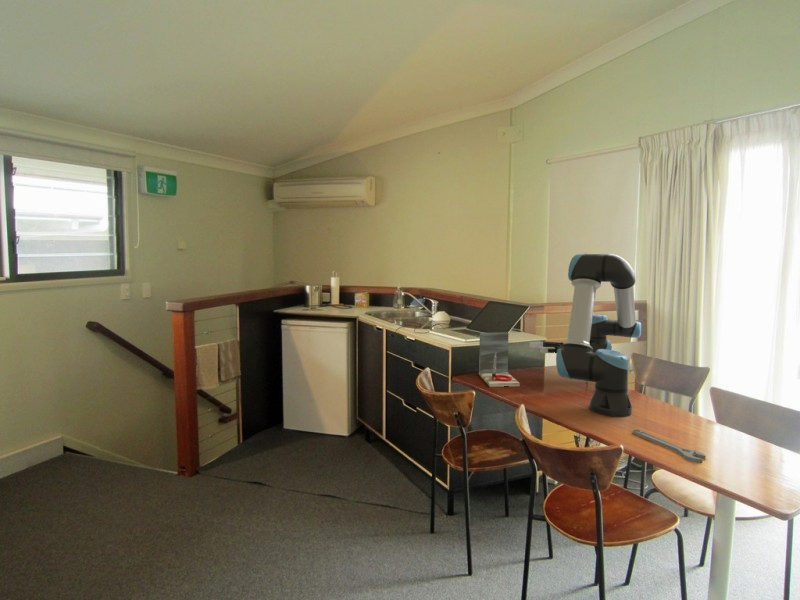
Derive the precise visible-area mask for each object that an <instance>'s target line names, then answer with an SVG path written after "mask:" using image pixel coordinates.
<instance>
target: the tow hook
mask: <svg viewBox="0 0 800 600" xmlns="http://www.w3.org/2000/svg"><path fill="white" fill-rule="evenodd" d="M498 377H505V378H508V379H502V378H498ZM512 377H513V376H512ZM512 377H510V376H507V375H496V352H495V355H494V363H493V373H492V379H493V380H500V381H511V380H512Z"/></svg>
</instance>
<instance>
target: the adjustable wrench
mask: <svg viewBox="0 0 800 600" xmlns="http://www.w3.org/2000/svg"><path fill="white" fill-rule="evenodd" d="M632 434H634V435H636V436H638V437H640V438H643V439H644V440H648V441H649V442H651V443H654V444H657V445H659V446H661V447H663V448H666V449H668V450H670V451H673V452H675V453H677V454H679V455H680V456H681V457H682V458H683V459H684V460H686V461H689V462H691V463H696V464H702V463H703V461H705V460H706V456H707V455H706V454H704V453H702V452H701V451H699V450H696V449H691V448H690V449H689V448H685V447H681V446H678V445H676V444H674V443H672V442H670V441H667V440H664V439H662V438H659V437H658V436H654V435H652V434H650V433H648V432H645V431H643V430H640V429H637V428H636V429H632Z"/></svg>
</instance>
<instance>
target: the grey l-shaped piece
mask: <svg viewBox="0 0 800 600" xmlns="http://www.w3.org/2000/svg"><path fill="white" fill-rule="evenodd" d="M509 335H510V334H509V332H504V331H503V332H479V349H478V350H479V354H478V356H479V357H478V359H479V360H478V364H479V365H478V374H479V376H480V377H481V379H483V381H484V382H485V383H486V384H487V385H488V387H489V388H501V387H504V386H509V387H521V385H520V384H521V383H520V382H519V380H517V379H516V378H515V377H513V375H511V374H510V373H509V369H508V368H509ZM495 352H496V375H507V376H510V377H512V380H511V381H500V380H493V379H492V373H493V363H494V355H495ZM498 378H502V379H508V378H505V377H498ZM504 388H505V387H504Z"/></svg>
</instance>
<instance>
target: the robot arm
mask: <svg viewBox="0 0 800 600" xmlns="http://www.w3.org/2000/svg"><path fill="white" fill-rule="evenodd" d="M567 270H568V273H567V278H568V280H569V281H571V285H572V287H574V288H573V296H572V304H571V309H570V319H569V325H568V334H567V339H566V341H565V342H562V341H561V342H560V341H559V342H558V341H557V342H556V341H544V340H542V341H533V342H532V341H529V348H530V349H539V350H540V351H539V354H556V355H555V362H556V369H557V373H558V375H559V376H560V377H561V378H565V379H568V380H578V381H585V382H592V383H595V384H594V391H593V394H592V395H591V398H590V401H589V410H591V411H592V412H594V413H597V414H600V415H603V416H606V417H607V416H609V417H627V416H630V415H632V413H633V412H632V411H633V408H632V407H633V406H632V403H631V400H630V396H629V394H628V391H629V389H628V388H629V371H630V364H629V363H630V362H629V361H630V358H629V357H628V355H626V354H625V353H624V352H623V353H622V352H620V351H616V350H612V349H613V346H612V342H611V340H609V339H607V337H608V336H609V337H610V336H612V337H613V336H614V337H621V338H622V337H623V338H630V339H631V338H635V339H637V338H640V337H641V335H642V322H640V321H637V316H636V307H635V305H636V304H635V293H634V291H635V290H634V285H635V284H636V274H635V271H634V269H633V267H632V266H631V265H630V264H629V262H628V261H627V260H626V259H624V258H623V257H621V256H619V255H617V254H613V253H605V254H604V253H602V254H601V253H579V254H575V255H573V257H572V258H571V260H570V262H569V265H568V269H567ZM602 282H603V283H604V282H605V283H610V285H611V287H612V288H613V293H614V301H615V310H616V319H609V318H608V316H607V315H606V314H594V309H595V303H596V302H595V300H596V292H597V290H598V289H599V288H600V287H601V286H602V285H601V284H602Z"/></svg>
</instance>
